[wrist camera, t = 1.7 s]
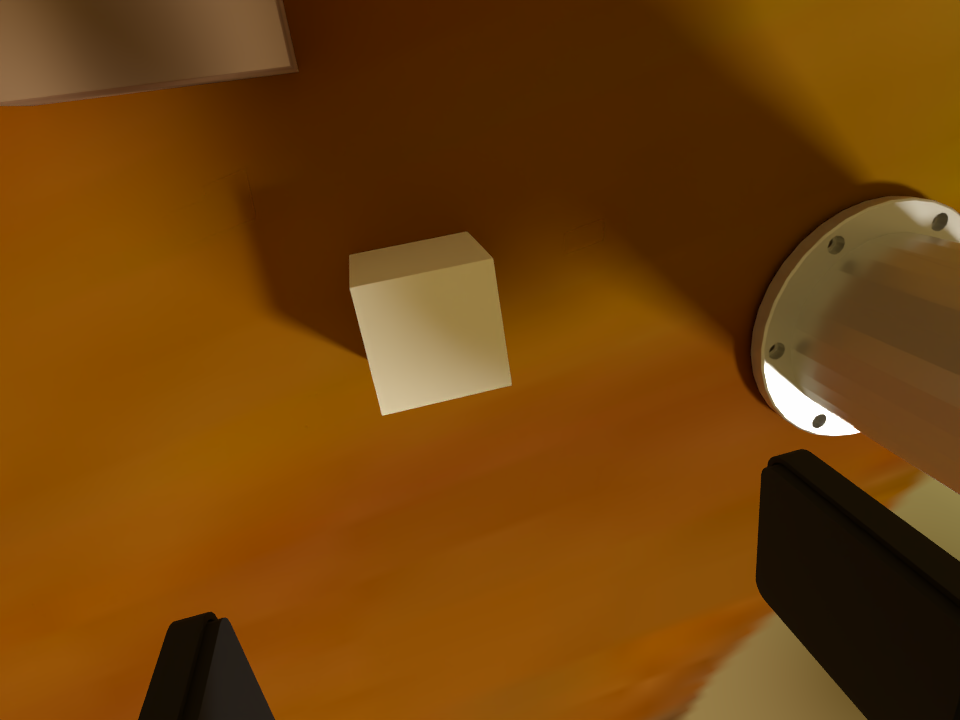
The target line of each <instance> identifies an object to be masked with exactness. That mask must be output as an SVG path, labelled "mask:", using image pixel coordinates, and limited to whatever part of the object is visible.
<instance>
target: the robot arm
mask: <svg viewBox="0 0 960 720" xmlns="http://www.w3.org/2000/svg"><path fill="white" fill-rule="evenodd" d="M751 360H752V369H753V375H754V378H755V381H756V384H757V387H758V390H759V392H760V393H761V395H762V396H763V398H764V400H765V401H766V403H767V404H768V406H769V407H771V408H772V409H773V410H774V411H775V412H776V413H777V414H778V415H779V416H781V417H782V418H783V419H785V420H786V421H788V422H790V423H791V424H793V425H794V426H796V427H797V428H799V429H801V430H804V431H806V432H809V433H812V434H817V435H826V436H840V435H851V434H855V433H859V432H861V433H863V434H864V435H866V436H867V437H869V438H871V439H872V440H874V441H875V442H877V443H879V444H880V445H882V446H883V447H885V448H886V449H888V450H890V451H891V452H893V453H894V454H896V455H898V456H899V457H901V458H902V459H904V460H905V461H907V462H909V463H910V464H912V465H913V466H915V467H917V468H918V469H920V470H921V471H923V472H924V473H926V474H928V475H929V476H931V477H932V478H934V479H936V480H937V481H939V482H940V483H942V484H943V485H945V486H947V487H948V488H950V489H951V490H953V491H955V492H956V493H958V494H960V214H959V213H958V212H957V211H955V210H954V209H953V208H951V207H949V206H947V205H944V204H942V203H939V202H937V201H935V200H929V199H924V198H918V197H912V196H886V197H881V198H877V199H872V200H867V201H864V202H862V203H860V204H857V205H855V206H852V207H850V208H848V209H845V210H843V211H842V212H840V213H838V214H837V215H835V216H834V217H832V218H830V219H829V220H827V221H826V222H824V223H823V224H821V225H820V226H819V227H818V228H817V229H815V230H814V231H813V232H812V233H811V234H810V235H809V236H807V237H806V238H805V239H804V240H803V241H802V242H801V243H800V244H799V245H798V246H797V247H796V249H795V250H794V251H793V252H792V253H791V254H790V256H789V257H788V258H787V259H786V260H785V261H784V263H783V264H782V266H781V267H780V269H779V270H778V272H777V274H776V275H775V277H774V278H773V280H772V281H771V283H770V285H769V287H768V289H767V291H766V293H765V296H764V298H763V300H762V302H761V305H760V307H759V310H758V313H757V317H756V321H755V325H754V328H753V334H752V345H751ZM756 583H757V587H758V589H759V592H760V594H761V595H762V597H763V598H764V600H765V601H766V602H767V603H768V605H769V606H770V607H771V608H772V609H773V610H774V612H775V613H776V614H777V615H778V616H779V617H780V618H781V620H782V621H783V622H784V623H785V624H786V625H787V627H788V628H789V629H790V630H791V631H792V632H793V633H794V635H795V636H796V637H797V638H798V639H799V640H800V642H801V643H802V644H803V645H804V646H805V647H806V649H807V650H808V651H809V652H810V653H811V654H812V656H813V657H814V658H815V659H816V660H817V661H818V663H819V664H820V665H821V666H822V667H823V668H824V670H825V671H826V672H827V673H828V674H829V675H830V677H831V678H832V679H833V680H834V681H835V682H836V683H837V685H838V686H839V687H840V688H841V689H842V690H843V692H844V693H845V694H846V695H847V696H848V697H849V698H850V700H851V701H852V702H853V703H854V704H855V705H856V707H857V708H858V709H859V710H860V711H861V712H862V713H863V715H864V716H865V717H866V718H867V719H868V720H960V561H958V560H957V559H955V558H954V557H952V556H951V555H950V554H949V553H947V552H946V551H945V550H943V549H942V548H941V547H939V546H938V545H936V544H935V543H934V542H932V541H931V540H930V539H928V538H927V537H926V536H924V535H923V534H921V533H920V532H919V531H917V530H916V529H915V528H913V527H912V526H911V525H909V524H908V523H906V522H905V521H904V520H902V519H901V518H900V517H898V516H897V515H895V514H894V513H893V512H891V511H890V510H889V509H887V508H886V507H885V506H883V505H882V504H881V503H879V502H878V501H877V500H875V499H874V498H872V497H871V496H870V495H868V494H867V493H866V492H864V491H863V490H862V489H860V488H859V487H857V486H856V485H855V484H853V483H852V482H851V481H849V480H848V479H847V478H845V477H844V476H842V475H841V474H840V473H838V472H837V471H836V470H834V469H833V468H832V467H830V466H829V465H827V464H826V463H825V462H823V461H822V460H821V459H819V458H818V457H817V456H815V455H814V454H812V453H811V452H809V451H807V450H804V449H800V450H796V451H793V452H789V453H785V454H782V455H778V456H774V457H772V458H770V460H769V461H768V466H767V467H766V468H764V469H763V471H762V474H761V490H760V509H759V527H758V546H757V564H756ZM138 720H275V719H274V717H273V715H272V712H271V710H270V708H269V706H268V704H267V701H266V699H265V697H264V695H263V693H262V691H261V688H260V686H259V684H258V682H257V680H256V678H255V675H254V673H253V671H252V669H251V667H250V665H249V662H248V660H247V658H246V656H245V654H244V652H243V649H242V647H241V645H240V643H239V641H238V639H237V636H236V634H235V632H234V630H233V628H232V626H231V623H230V622H229V620H228V619H227V618H221V619H217V617H216V616H215V614H214V613H212V612H207V613H204V614H200V615H196V616H193V617H189V618H185V619H182V620H178V621H174V622H173V623H172V624H171V625H170V626H169V628H168V630H167V633H166V636H165V639H164V642H163V645H162V648H161V651H160V655H159V658H158V661H157V664H156V667H155V670H154V673H153V676H152V679H151V682H150V685H149V688H148V691H147V694H146V697H145V700H144V703H143V706H142V709H141V712H140V716H139V719H138Z"/></svg>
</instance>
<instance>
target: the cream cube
mask: <svg viewBox="0 0 960 720" xmlns="http://www.w3.org/2000/svg"><path fill="white" fill-rule="evenodd" d="M349 285H350V292H351V296H352V299H353V303H354V307H355V311H356V315H357V319H358V323H359V327H360V331H361V335H362V339H363V342H364V346H365V350H366V354H367V358H368V362H369V366H370V370H371V374H372V378H373V381H374V385H375V389H376V393H377V397H378V401H379V405H380V409H381V413H382V416H383V415H387V414H391V413H395V412H400V411H404V410H408V409H413V408H417V407H421V406H425V405H430V404H434V403H438V402H442V401H447V400H451V399H455V398H459V397H464V396H468V395H472V394H476V393H481V392H485V391H489V390H494V389H498V388H502V387H506V386H511V385H512V383H511V376H510V369H509V363H508V356H507V349H506V342H505V335H504V329H503V322H502V315H501V308H500V301H499V295H498V288H497V281H496V274H495V267H494V261H493V258H492V257H491V255H490V254H489V253H488V252H487V251H486V250H485V249H484V248H483V247H482V246H481V245H480V244H479V243H478V242H477V241H476V240H475V239H474V238H473V237H472V236H471V235H470V234H469V233H468V232H467V231H466V232H461V233H456V234H451V235H446V236H441V237H436V238H431V239H426V240H421V241H416V242H411V243H406V244H401V245H396V246H391V247H386V248H381V249H376V250H371V251H366V252H361V253H356V254H351V255H349Z"/></svg>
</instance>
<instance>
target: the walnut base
mask: <svg viewBox="0 0 960 720" xmlns="http://www.w3.org/2000/svg"><path fill="white" fill-rule="evenodd" d="M296 72H299V70H298V66H297V62H296V57H295V53H294V48H293V44H292V39H291V35H290V30H289V26H288V22H287V17H286V13H285V8H284V4H283V0H0V106H35V105H43V104H51V103H59V102H67V101H74V100H82V99H90V98H98V97H106V96H114V95H122V94H130V93H138V92H146V91H154V90H161V89H169V88H177V87H185V86H193V85H201V84H209V83H217V82H225V81H233V80H240V79H248V78H256V77H264V76H272V75H280V74H288V73H296Z"/></svg>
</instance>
